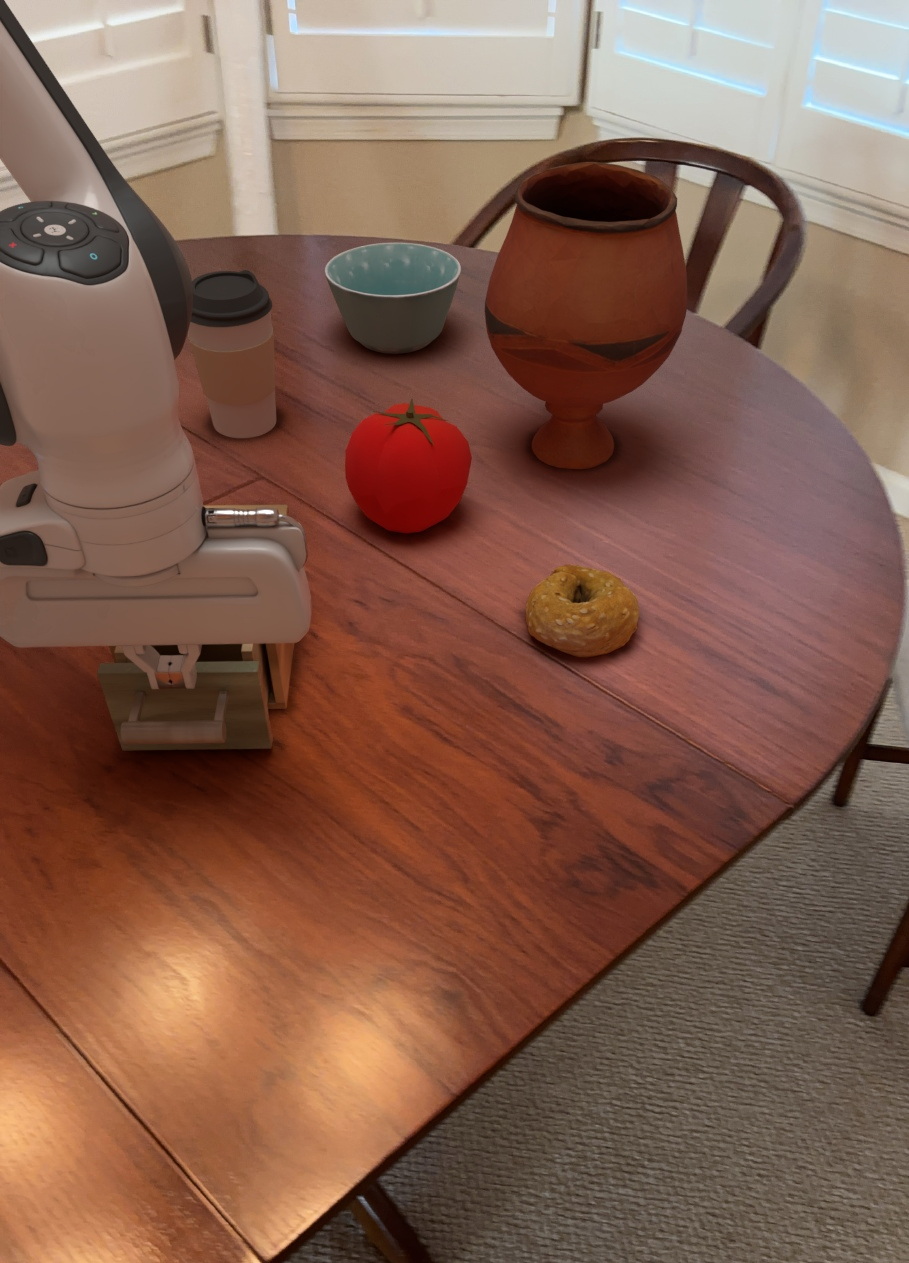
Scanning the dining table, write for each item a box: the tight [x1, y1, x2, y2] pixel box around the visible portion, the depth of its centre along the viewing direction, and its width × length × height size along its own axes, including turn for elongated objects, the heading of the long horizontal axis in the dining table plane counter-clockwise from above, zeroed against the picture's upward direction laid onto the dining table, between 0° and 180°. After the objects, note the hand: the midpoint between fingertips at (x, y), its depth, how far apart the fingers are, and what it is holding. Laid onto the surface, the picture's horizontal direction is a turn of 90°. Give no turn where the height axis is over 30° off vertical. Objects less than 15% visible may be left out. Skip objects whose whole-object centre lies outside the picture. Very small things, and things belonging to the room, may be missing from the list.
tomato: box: [344, 397, 473, 534], centre depth 100 cm, size 12×12×11 cm
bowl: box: [324, 242, 462, 355], centre depth 126 cm, size 16×16×8 cm
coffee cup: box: [187, 269, 277, 439], centre depth 110 cm, size 9×9×15 cm
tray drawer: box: [96, 644, 274, 751], centre depth 81 cm, size 18×11×8 cm, turn 1°
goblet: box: [484, 161, 688, 470], centre depth 103 cm, size 19×19×25 cm
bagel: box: [525, 564, 640, 658], centre depth 91 cm, size 10×11×5 cm
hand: (175, 683), depth 74 cm, fingers closed
